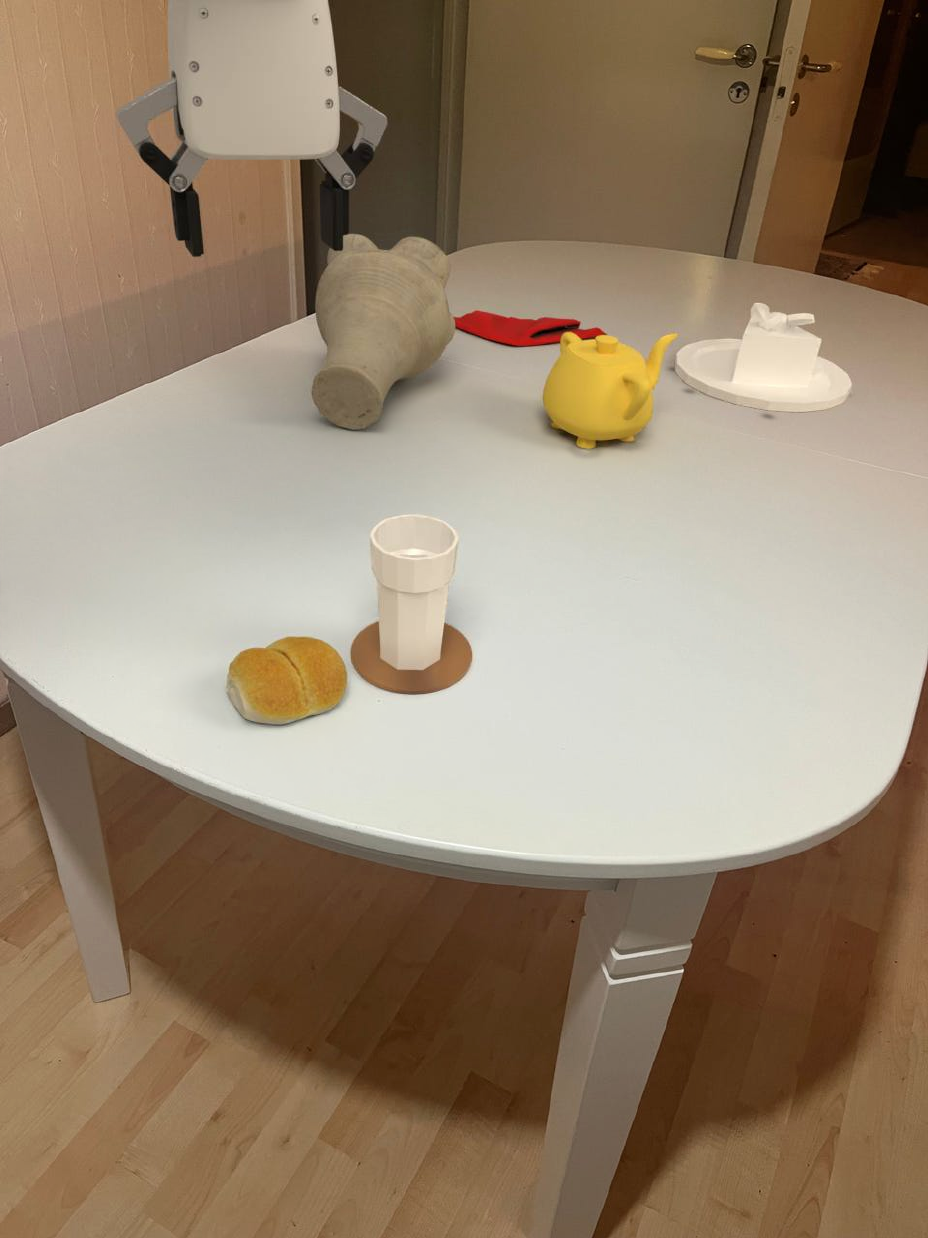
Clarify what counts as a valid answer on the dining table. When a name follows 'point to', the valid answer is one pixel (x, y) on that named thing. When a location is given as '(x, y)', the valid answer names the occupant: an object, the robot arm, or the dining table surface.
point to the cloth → (521, 328)
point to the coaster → (411, 681)
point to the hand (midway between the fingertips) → (265, 248)
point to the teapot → (602, 388)
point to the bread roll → (286, 680)
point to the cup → (412, 587)
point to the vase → (378, 323)
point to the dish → (766, 366)
